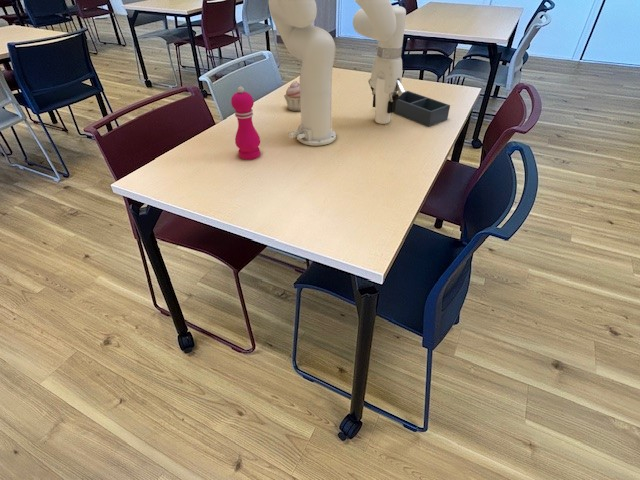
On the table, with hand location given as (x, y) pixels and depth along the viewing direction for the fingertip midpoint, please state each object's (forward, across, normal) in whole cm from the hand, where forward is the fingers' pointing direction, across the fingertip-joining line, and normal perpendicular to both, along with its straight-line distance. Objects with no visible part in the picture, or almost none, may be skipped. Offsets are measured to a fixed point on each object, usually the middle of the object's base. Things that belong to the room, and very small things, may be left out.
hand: (383, 108), depth 130 cm
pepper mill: (+5, -7, -49) cm, 50 cm away
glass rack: (+4, +3, +14) cm, 15 cm away
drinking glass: (+5, 0, 0) cm, 5 cm away
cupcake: (+5, -29, -16) cm, 33 cm away
